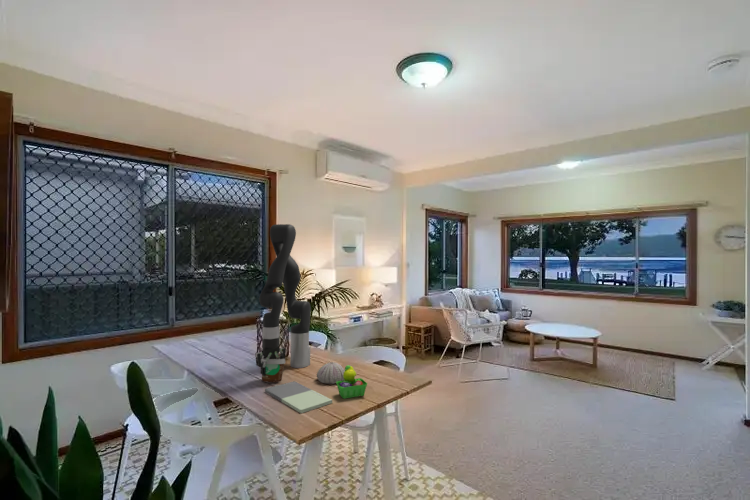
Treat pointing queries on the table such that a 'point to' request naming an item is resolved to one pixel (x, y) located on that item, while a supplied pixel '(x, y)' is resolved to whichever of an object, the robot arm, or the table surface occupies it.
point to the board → (298, 396)
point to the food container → (273, 370)
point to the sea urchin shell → (330, 373)
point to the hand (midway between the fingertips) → (270, 373)
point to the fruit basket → (351, 384)
